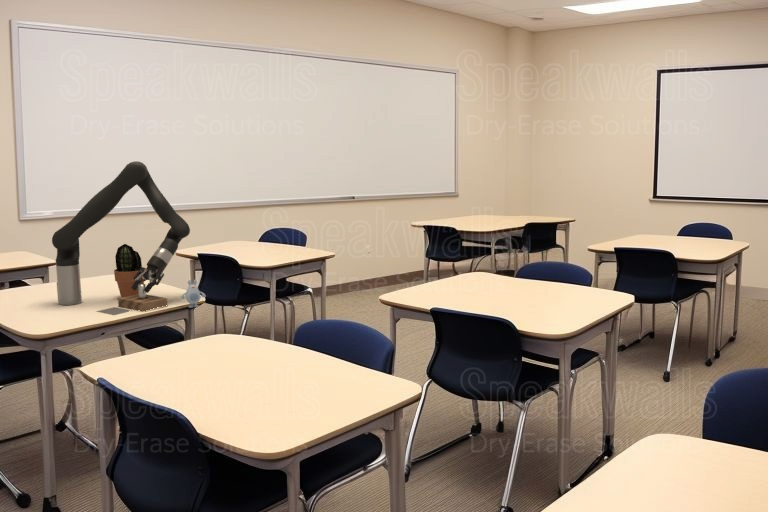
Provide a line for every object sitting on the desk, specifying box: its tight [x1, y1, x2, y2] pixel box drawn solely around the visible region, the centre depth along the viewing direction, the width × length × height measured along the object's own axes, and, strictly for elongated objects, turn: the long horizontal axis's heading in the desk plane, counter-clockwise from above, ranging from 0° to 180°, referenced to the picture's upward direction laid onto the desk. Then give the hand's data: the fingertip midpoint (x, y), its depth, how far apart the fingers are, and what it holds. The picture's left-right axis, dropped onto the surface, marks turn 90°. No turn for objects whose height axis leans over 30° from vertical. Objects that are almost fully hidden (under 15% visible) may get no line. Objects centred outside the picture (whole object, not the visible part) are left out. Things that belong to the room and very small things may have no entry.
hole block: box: [117, 293, 168, 312], centre depth 294 cm, size 17×12×4 cm
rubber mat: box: [95, 306, 131, 316], centre depth 286 cm, size 12×9×1 cm
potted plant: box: [113, 243, 147, 298], centre depth 312 cm, size 14×14×25 cm
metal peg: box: [138, 283, 147, 300], centre depth 294 cm, size 3×3×10 cm
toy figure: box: [179, 279, 207, 309], centre depth 294 cm, size 11×6×12 cm, turn 114°
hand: (139, 290), depth 292 cm, fingers open, 8 cm apart
